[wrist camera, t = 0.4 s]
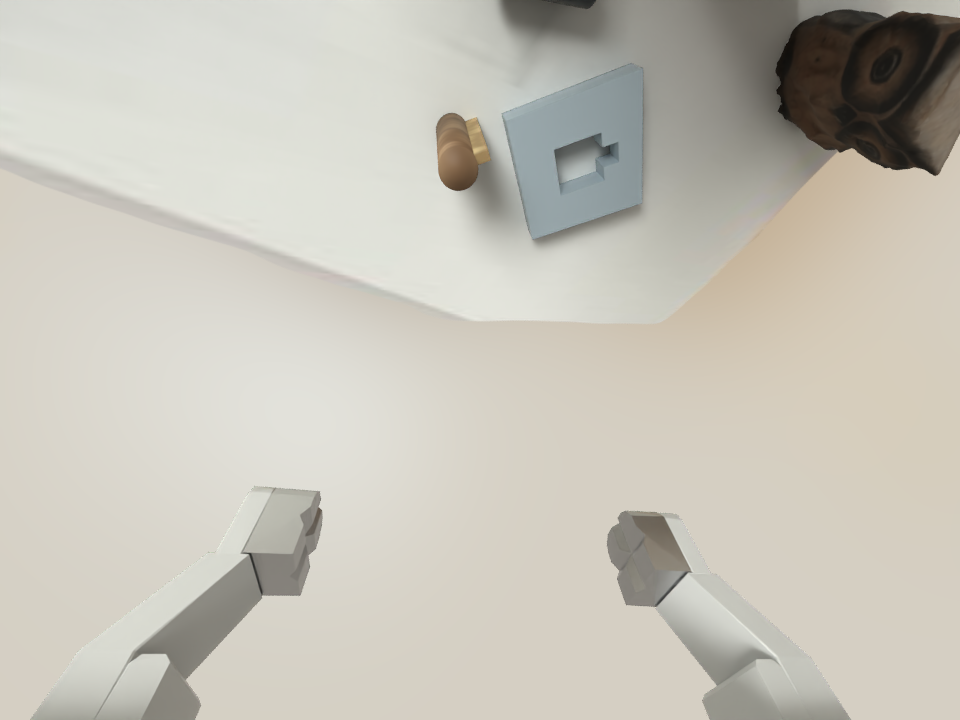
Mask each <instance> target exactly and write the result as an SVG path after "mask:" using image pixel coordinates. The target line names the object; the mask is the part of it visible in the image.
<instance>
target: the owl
mask: <svg viewBox="0 0 960 720" xmlns="http://www.w3.org/2000/svg"><path fill="white" fill-rule="evenodd" d="M776 74H777V75H778V76H779V77H780V81H781V85H780V86H779V87H778V89H777V90H776V91H777V94H778V95H779V96H780V97H781V103H782V105H780V107H779V109H778V112H779V113H781V114H783V116H784V118H785V119H788V120H789V121H791V122H793V123H794V124H796V125H797V126H798V127H799V128H800V129H801V130H802V131H803V132H804V133H805V134H806V136H807V138H808V139H810V140H812V141H814V142H815V143H817V144H818V145H820V146H821V147H823V148H824V149H825V150H835V149H837V150H838V151H839V152H843V151H845V150H848V149H850V148H853V149H855V150H856V151H857V152H858V153H859V154H861V155H863V156H864V157H865V158H867V159H868V160H870V161H871V162H874V163H876V164H879V165H881V166H883V167H884V168H891V169H893V170H901V169H910V168H913V167H916V168H921V169H924V170H926V171H928V172H929V173H931V174H933V175H934V176H936V175H938V174H939V173H940V171H941V169H942V167H943V165H944V163H945V161H946V160H947V158H948V156H949V154H950V152H951V150H952V148H953V146H954V144H955V141H956V140H957V138H958V136H959V134H960V18H955V17H949V16H940V15H934V14H929V13H927V14H921V13H908V12H904V11H901V12H898V13H896V14H894V15H892V16H891V17H888V18H886V17H883V16H881V15H879V14H877V13H871V12H864V11H860V12H859V11H854V10H835V11H831V12H828V13H825V14H824V15H822V16H814V17H812V18H810V19H808V20H805V21H803V22H802V23H800V24H799V25H798V26H797V27H796V28H795V29H794V30H793V32H792V34H791V36H790V38H789V41H788V43H787V44H786V46H785V47H784V50H783V53H782V55H781V57H780V59H779V61H778V62H777V67H776Z"/></svg>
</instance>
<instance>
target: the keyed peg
mask: <svg viewBox="0 0 960 720" xmlns="http://www.w3.org/2000/svg"><path fill="white" fill-rule="evenodd" d="M436 136H437V153H438V170H439V176H440V179H441V181H442V182H443V183H444V185H445V186H447V187H448V188H450V189H452V190H455V191H461V190H465V189H467V188H469V187H470V186H472V185H473V183H474V182H475V180H476V178H477V175H478V165H479V164H482V163H485V162H487V161H490V160H491V159H490V155H489V151H488V148H487V146H486V143H485V140H484V137H483V134H482V132H481V129H480V126H479V123H478V121H477V118H473V119H471V120H468V121H466V122H465V121H464V119H463V118H462V117H461V116H459V115H458V114H455V113H448V114H446V115H444V116H442V117H441V118H440V120H439V121H438V123H437V127H436Z"/></svg>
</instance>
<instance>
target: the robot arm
mask: <svg viewBox="0 0 960 720" xmlns="http://www.w3.org/2000/svg"><path fill="white" fill-rule="evenodd" d="M320 501H321V497H320V492H319V491H308V490H296V489H283V488H282V489H281V488H272V487H257V486H255V487H254V488H252V489H251V491H250V492H249V493H248V494H247V496H246V498H245V500H244V502H243V503H242V505H241V507H240V509H239V511H238V512H237V514H236V516H235V518H234V520H233V522H232V523H231V525H230V527H229V529H228V531H227V532H226V534H225V536H224V538H223V540H222V542H221V543H220V545H219V547H218V549H217V551H216V552H208V553H207V554H206V555H204V556H203V557H202V558H200V559H199V560H198V561H196V562H195V563H194V564H192V565H191V566H190V567H189V568H187V569H186V570H185V571H183V572H182V573H180V574H179V575H178V576H177V577H175V578H174V579H173V580H171V581H170V582H169V583H167V584H166V585H165V586H163V587H162V588H161V589H160V590H158V591H157V592H155V593H154V594H153V595H152V596H150V597H149V598H148V599H146V600H145V601H144V602H142V603H141V604H140V605H138V606H137V607H136V608H134V609H133V610H132V611H130V612H129V613H128V614H127V615H125V616H124V617H123V618H121V619H120V620H119V621H117V622H116V623H115V624H113V625H112V626H111V627H109V628H108V629H107V630H105V631H104V632H103V633H102V634H100V635H99V636H98V637H96V638H95V639H94V640H92V641H91V642H90V643H88V644H87V645H86V646H84V647H83V648H82V649H80V650H79V651H78V653H77V654H76V655H75V657H74V658H73V660H72V661H71V663H70V664H69V665H68V667H67V668H66V670H65V671H64V673H63V674H62V675H61V677H60V678H59V680H58V681H57V682H56V684H55V685H54V687H53V688H52V690H51V691H50V692H49V694H48V695H47V697H46V698H45V699H44V701H43V702H42V704H41V705H40V707H39V708H38V710H37V711H36V712H35V714H34V715H33V717H32V718H31V719H30V720H195V718H196V716H197V713H198V711H199V708H200V706H201V704H200V701H199V698H198V697H197V696H196V694H195V693H194V691H193V690H192V688H191V687H190V686H189V684H188V683H187V682H186V679H187V678H188V676H190V674H192V672H193V671H194V670H195V669H196V668H197V667H198V666H199V665H200V664H201V663H202V662H203V661H204V660H205V659H206V657H207V656H208V655H209V654H210V653H211V652H212V651H213V650H214V649H215V648H216V647H217V646H218V644H219V643H220V642H221V641H222V640H223V639H224V638H225V637H226V636H227V635H228V634H229V633H230V632H231V631H232V630H233V629H234V627H235V626H236V625H237V624H238V623H239V622H240V621H241V620H242V619H243V618H244V617H245V616H246V615H247V614H248V612H249V611H250V610H251V609H252V608H253V607H254V606H255V605H256V604H257V603H258V602H259V601H260V600H261V599H262V595H290V596H291V595H292V596H294V595H296V596H297V595H299V596H300V595H301V592H302V589H303V586H304V583H305V580H306V577H307V574H308V571H309V568H310V564H309V556H308V555H309V554H310V553H311V552H313V551H314V550H315V549H316V546H317V543H318V540H319V536H320V531H321V526H322V510H321V509H320V508H319V507H318V506H319V504H320ZM618 520H619V524H617V525H615V526H613V527H612V528H611V530H610V532H609V534H608V540H607V546H608V553H609V556H610V559H611V562H612V563H613V564H614V565H615V566H616V567H617V569H618V570H619V574H618V578H617V580H618V583H619V586H620V589H621V592H622V594H623V598H624V600H625V603H626V605H635V606H651V607H652V606H653V607H656V610H657V611H658V613H659V614H660V615H661V616H662V617H663V619H664V620H665V621H666V623H667V624H668V625H669V626H670V628H671V629H672V630H673V631H674V632H675V634H676V635H677V636H678V637H679V639H680V640H681V641H682V642H683V644H684V645H685V646H686V647H687V649H688V650H689V651H690V652H691V654H692V655H693V656H694V657H695V659H696V660H697V661H698V662H699V664H700V665H701V666H702V667H703V669H704V670H705V671H706V672H707V673H708V675H709V676H710V677H711V679H712V680H713V681H714V682H715V683H716V685H717V686H716V687H715V688H714V689H712V690H710V691H709V692H708V693H706V694H705V695H704V698H703V700H702V701H703V704H704V706H705V709H706V711H707V714H708V716H709V719H710V720H851V719H850V718H849V716H848V714H847V713H846V711H845V710H844V708H843V707H842V705H841V704H840V702H839V700H838V699H837V697H836V696H835V694H834V693H833V691H832V690H831V688H830V686H829V685H828V683H827V682H826V680H825V679H824V677H823V676H822V674H821V672H820V671H819V669H818V668H817V666H816V665H815V663H814V661H813V660H812V659H811V657H809V656H808V655H807V654H806V653H805V652H804V651H803V650H802V649H800V648H799V647H798V646H797V645H796V644H795V643H793V641H791V640H790V639H789V638H788V637H787V636H786V635H785V634H783V633H782V632H781V631H780V630H779V629H778V628H777V627H776V626H775V625H773V624H772V623H771V622H770V621H769V620H768V619H767V618H766V617H764V616H763V615H762V614H761V613H760V612H759V611H758V610H756V609H755V608H754V607H753V606H752V605H751V604H750V603H749V602H748V601H746V600H745V599H744V598H743V597H742V596H741V595H740V594H738V593H737V592H736V591H735V590H734V589H733V588H732V587H731V586H729V585H728V584H727V583H726V582H725V581H724V580H723V579H722V578H721V577H719V576H718V575H717V574H713V573H711V572H710V570H709V568H708V566H707V565H706V563H705V561H704V559H703V558H702V556H701V554H700V552H699V550H698V548H697V546H696V545H695V543H694V541H693V539H692V537H691V536H690V534H689V532H688V530H687V528H686V526H685V525H684V523H683V521H682V519H681V518H680V517H679V516H678V515H676V514H670V513H657V512H640V511H624V512H622V513H621V514H620V515H619V517H618Z"/></svg>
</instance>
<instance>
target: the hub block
mask: <svg viewBox="0 0 960 720" xmlns="http://www.w3.org/2000/svg"><path fill="white" fill-rule="evenodd" d="M502 118H503V122H504V126H505V131H506V135H507V139H508V144H509V148H510V152H511V157H512V161H513V165H514V170H515V174H516V178H517V183H518V187H519V191H520V196H521V200H522V204H523V209H524V213H525V217H526V222H527V226H528V230H529V232H530V235H531V237H532V239H536V238H539V237H542V236H545V235H548V234H551V233H554V232H557V231H560V230H563V229H566V228H569V227H572V226H575V225H578V224H581V223H584V222H587V221H590V220H593V219H596V218H599V217H602V216H605V215H608V214H611V213H614V212H617V211H620V210H623V209H626V208H629V207H632V206H635V205H638V204H641V203H642V158H643V68H642V67H639V66H637V65H634V64H632V63H631V64H628V65H626V66H623V67H620V68H618V69H615V70H613V71H610V72H608V73H605V74H602V75H600V76H597V77H595V78H592V79H590V80H587V81H584V82H582V83H579V84H577V85H574V86H572V87H569V88H566V89H564V90H561V91H559V92H556V93H553V94H551V95H548V96H546V97H543V98H541V99H538V100H535V101H533V102H530V103H528V104H525V105H523V106H520V107H517V108H515V109H512V110H510V111H507V112H505V113H502ZM593 135H594V140H595V141H596V142H597V143H598V144H599V145H601V146H602V147H605V146H608V145H610V154H607V155H604V156H601V157H599V158H596V172H593V173H590V174H588V175H585V176H582V177H579V178H576V179H573V180H571V181H568V182H565V183H562V184H559V180H558V174H557V167H556V161H555V154H554V150H555V149H558V148H561V147H563V146H566V145H569V144H572V143H574V142H577V141H580V140H582V139H585V138H588V137H591V136H593Z"/></svg>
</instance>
